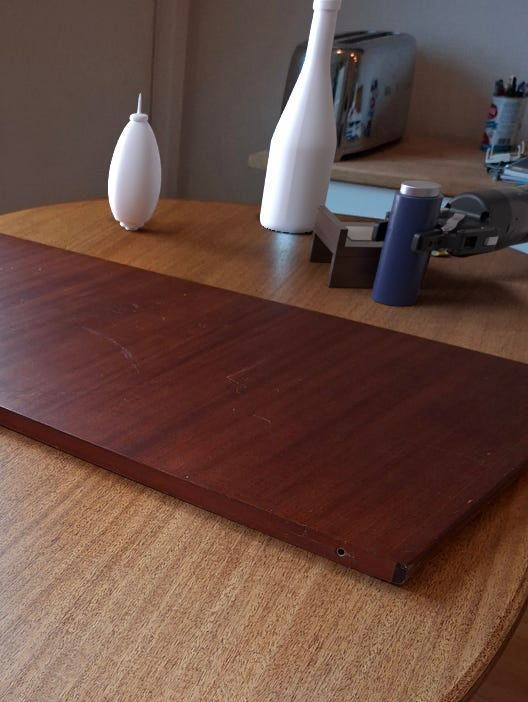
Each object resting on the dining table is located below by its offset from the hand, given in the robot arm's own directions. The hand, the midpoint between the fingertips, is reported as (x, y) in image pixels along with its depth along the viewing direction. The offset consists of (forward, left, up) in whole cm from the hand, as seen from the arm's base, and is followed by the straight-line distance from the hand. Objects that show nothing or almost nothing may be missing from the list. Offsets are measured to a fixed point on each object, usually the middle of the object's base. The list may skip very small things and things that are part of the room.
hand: (394, 237), depth 104 cm
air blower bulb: (+29, -34, -8) cm, 46 cm away
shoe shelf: (-1, -12, -8) cm, 15 cm away
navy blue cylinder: (-2, -1, -8) cm, 8 cm away
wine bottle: (+4, -37, -8) cm, 38 cm away
